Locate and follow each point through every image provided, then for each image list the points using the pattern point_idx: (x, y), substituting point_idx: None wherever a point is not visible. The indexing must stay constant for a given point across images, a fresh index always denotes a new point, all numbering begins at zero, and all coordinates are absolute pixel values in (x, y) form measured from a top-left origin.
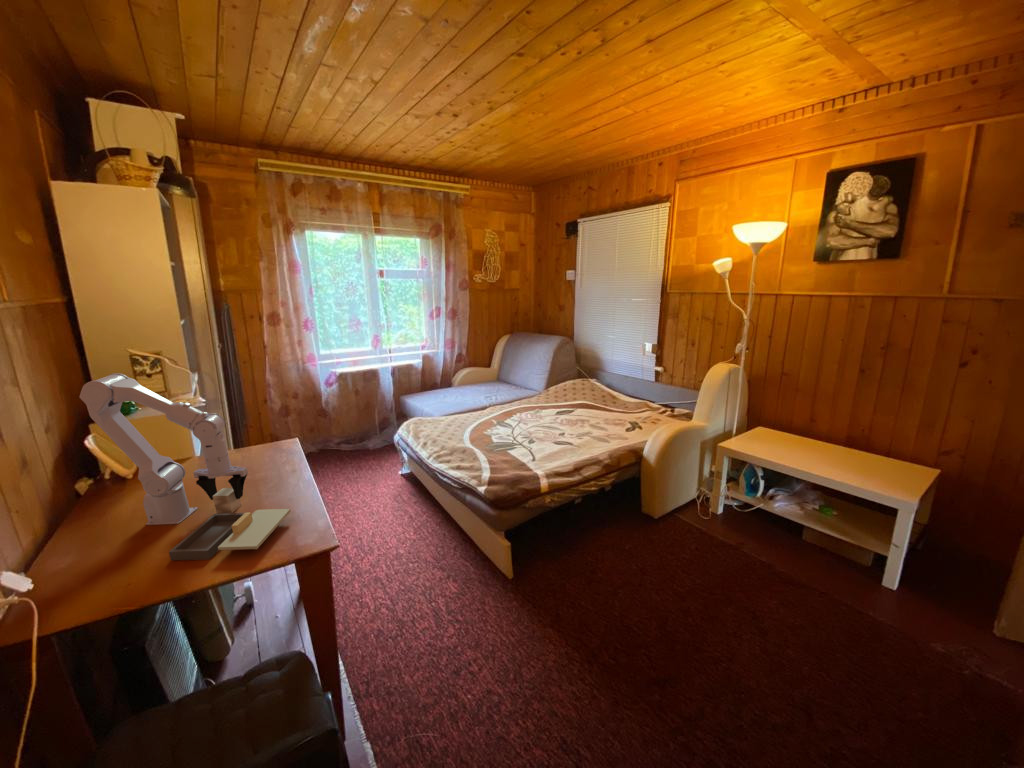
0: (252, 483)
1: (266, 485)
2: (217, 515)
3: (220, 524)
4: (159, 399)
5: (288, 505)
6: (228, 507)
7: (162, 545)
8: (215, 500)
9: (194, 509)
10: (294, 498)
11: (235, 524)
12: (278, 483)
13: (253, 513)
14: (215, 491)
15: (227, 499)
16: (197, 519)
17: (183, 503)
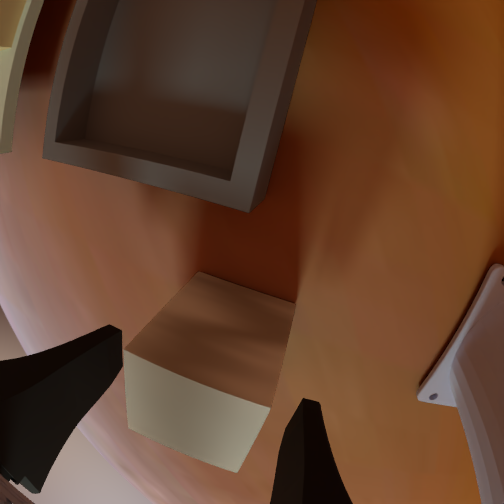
0: (227, 480)
1: (164, 447)
2: (213, 177)
3: (202, 120)
4: None
5: (12, 249)
6: (192, 296)
7: (490, 38)
8: (263, 368)
9: (430, 385)
10: (20, 296)
11: None
12: (128, 436)
13: (1, 115)
14: (281, 461)
15: (153, 331)
16: (405, 284)
17: (492, 395)
